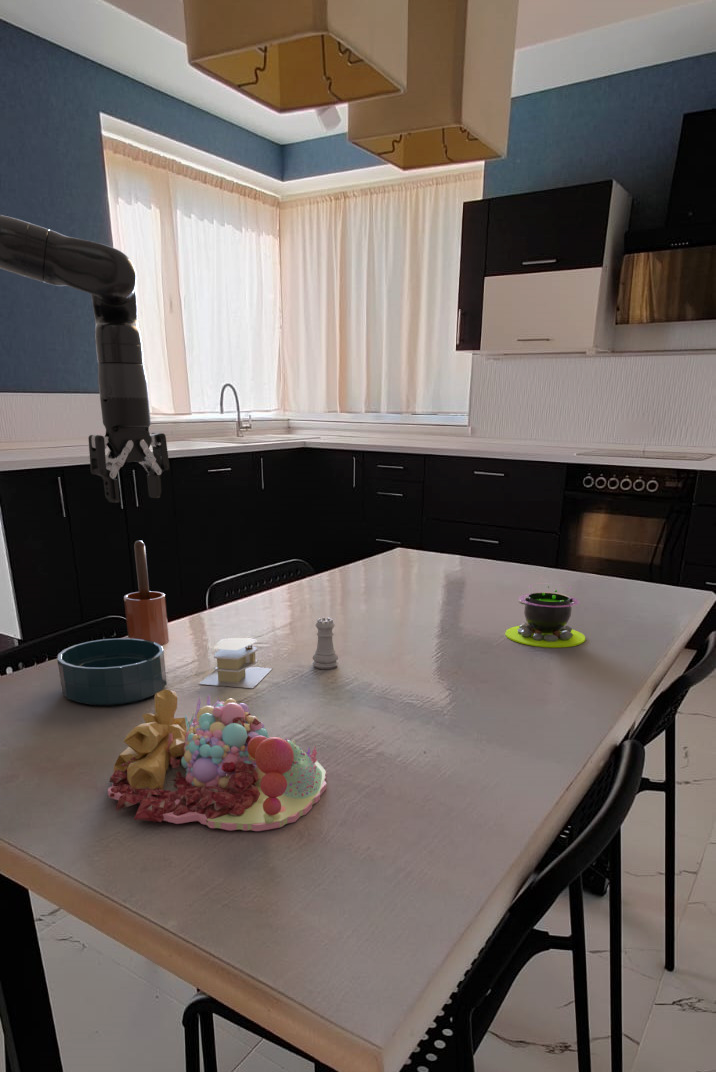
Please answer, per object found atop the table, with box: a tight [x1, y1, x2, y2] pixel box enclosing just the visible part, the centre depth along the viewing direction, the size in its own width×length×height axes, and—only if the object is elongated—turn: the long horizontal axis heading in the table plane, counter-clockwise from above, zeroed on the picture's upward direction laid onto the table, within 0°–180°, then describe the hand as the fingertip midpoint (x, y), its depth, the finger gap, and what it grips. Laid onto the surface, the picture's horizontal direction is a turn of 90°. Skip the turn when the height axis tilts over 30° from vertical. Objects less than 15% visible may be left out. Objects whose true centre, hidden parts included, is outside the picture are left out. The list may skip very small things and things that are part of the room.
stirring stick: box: [133, 540, 150, 600], centre depth 136 cm, size 3×2×18 cm, turn 54°
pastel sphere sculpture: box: [107, 688, 327, 832], centre depth 88 cm, size 25×24×9 cm
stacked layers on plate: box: [198, 637, 273, 689], centre depth 123 cm, size 10×9×6 cm
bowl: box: [56, 637, 168, 706], centre depth 117 cm, size 15×15×6 cm
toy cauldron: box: [505, 576, 586, 649], centre depth 145 cm, size 15×15×11 cm
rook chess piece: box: [311, 617, 339, 670], centre depth 128 cm, size 4×4×8 cm
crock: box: [123, 590, 170, 646], centre depth 138 cm, size 7×7×9 cm
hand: (134, 500), depth 130 cm, fingers open, 8 cm apart
